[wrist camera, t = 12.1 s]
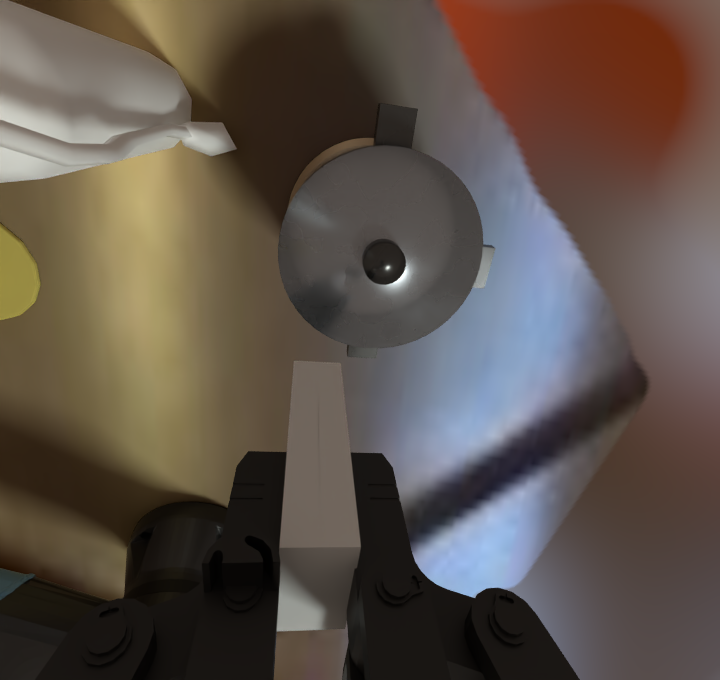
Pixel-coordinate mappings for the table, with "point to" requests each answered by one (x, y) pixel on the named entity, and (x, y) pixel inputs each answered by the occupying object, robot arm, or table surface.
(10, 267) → the candle
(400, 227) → the lid
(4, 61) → the white extinguisher
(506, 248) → the table surface
